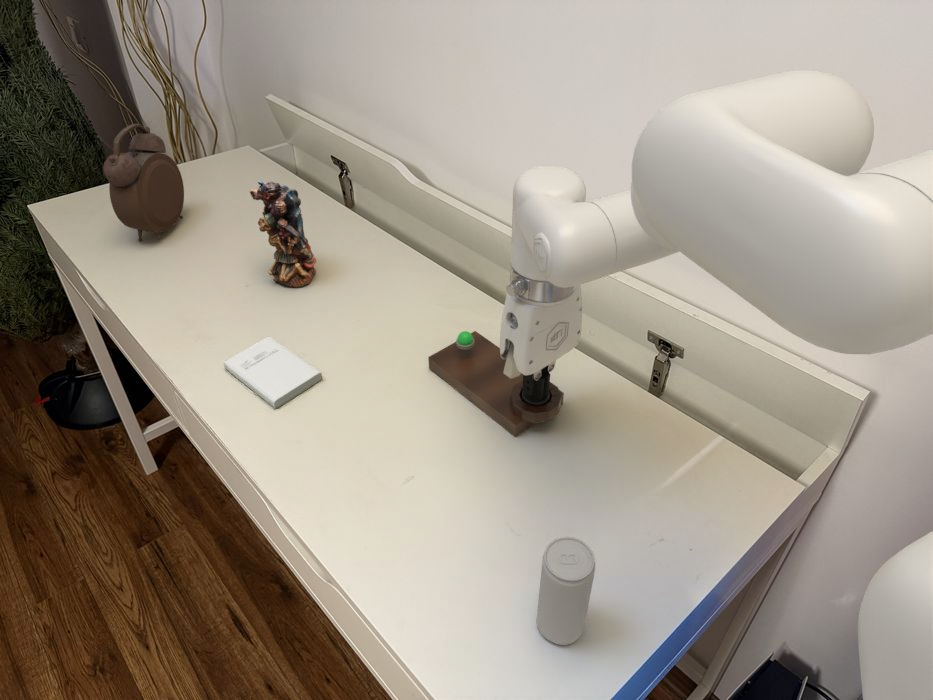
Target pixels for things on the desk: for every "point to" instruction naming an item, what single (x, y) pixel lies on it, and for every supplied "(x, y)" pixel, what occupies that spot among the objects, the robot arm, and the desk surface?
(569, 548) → the beverage can
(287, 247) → the figurine
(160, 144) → the alarm clock
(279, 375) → the hard drive
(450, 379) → the switch box
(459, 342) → the green lamp
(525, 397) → the button
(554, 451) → the desk surface
